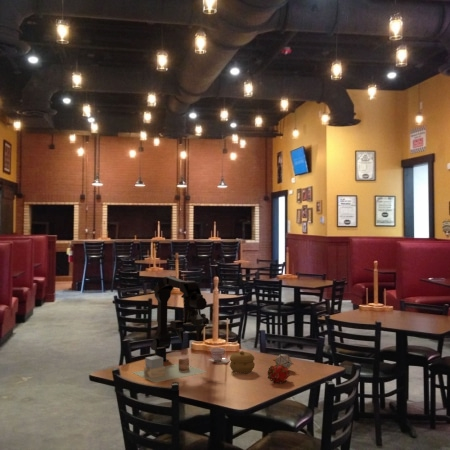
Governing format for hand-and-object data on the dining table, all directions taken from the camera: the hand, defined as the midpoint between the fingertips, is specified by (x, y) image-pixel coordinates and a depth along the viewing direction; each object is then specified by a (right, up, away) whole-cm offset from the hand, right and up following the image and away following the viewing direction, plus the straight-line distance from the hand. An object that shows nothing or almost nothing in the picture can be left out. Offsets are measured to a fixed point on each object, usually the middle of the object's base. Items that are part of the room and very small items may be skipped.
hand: (190, 340), depth 248 cm
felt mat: (-10, -15, -2) cm, 18 cm away
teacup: (+13, -15, +20) cm, 28 cm away
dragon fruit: (+40, -14, -20) cm, 47 cm away
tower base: (-16, -14, -7) cm, 22 cm away
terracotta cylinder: (-3, -14, +3) cm, 15 cm away
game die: (+44, -14, -1) cm, 46 cm away
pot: (+25, -15, -3) cm, 29 cm away
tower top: (-16, -10, -7) cm, 20 cm away
